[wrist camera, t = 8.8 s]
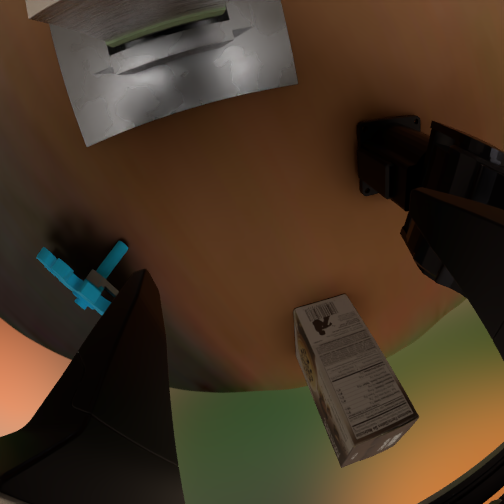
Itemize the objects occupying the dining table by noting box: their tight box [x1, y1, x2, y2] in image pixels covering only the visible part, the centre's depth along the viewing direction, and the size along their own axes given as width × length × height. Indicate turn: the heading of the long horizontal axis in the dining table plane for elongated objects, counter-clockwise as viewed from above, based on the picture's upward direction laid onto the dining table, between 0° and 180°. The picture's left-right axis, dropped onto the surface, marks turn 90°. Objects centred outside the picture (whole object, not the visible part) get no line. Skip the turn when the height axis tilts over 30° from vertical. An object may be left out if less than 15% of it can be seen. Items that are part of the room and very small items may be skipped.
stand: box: [49, 0, 298, 147], centre depth 11 cm, size 14×14×7 cm
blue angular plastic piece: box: [36, 241, 128, 315], centre depth 21 cm, size 11×6×10 cm
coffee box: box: [294, 294, 419, 468], centre depth 27 cm, size 9×6×16 cm
